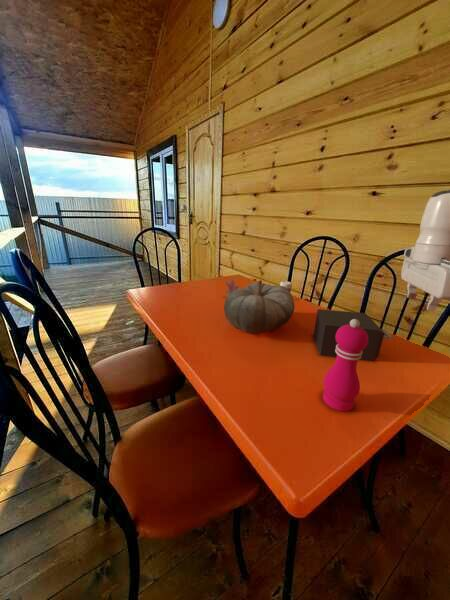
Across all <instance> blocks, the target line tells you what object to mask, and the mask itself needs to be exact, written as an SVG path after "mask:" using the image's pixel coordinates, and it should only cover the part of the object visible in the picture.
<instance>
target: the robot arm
mask: <svg viewBox="0 0 450 600" xmlns="http://www.w3.org/2000/svg"><path fill="white" fill-rule="evenodd" d="M403 256H404V257H405V258H404V259H403V262H402V266H401V272H400V278H401V280H402V281H404V282H406V283H407V284H406V287H407V296H406V298H407V299H409V300H416V299H417V297H418V293H417V288H418V289H419V290H421V291H424V293H427V294H429V295H430V296H429V301H428V302H426V303H425V305H424V310H426V311H428V312H435V311H436V310H437V306H438V305H439V304H440V303H442V301H443V300H450V189H446V190H440V191H437V192H435V193H434V194H432V195H431V196H430V197H429V199H428V201H427V203H426V204H425V208H424V210H423V212H422V216H421V221H420V225H419V235H418V237H417V239H416V241H415V244H414V246H412V247H409V248H406V249H405V250H404V253H403Z"/></svg>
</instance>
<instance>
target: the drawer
mask: <svg viewBox="0 0 450 600" xmlns="http://www.w3.org/2000/svg"><path fill="white" fill-rule="evenodd" d="M368 317H369V318H370V319H371V320H372V321H373V322H374V323H375V324H376V325H377V323H376V322H375V321H374V320H373V319H372V318H371V317H370V316H368ZM381 330H382V331H381V334H380V338H379V342H378V346H377V350H376V354H375V357H374V358H377V359H378V358H379V355H380V352H381V348H382V344H383V340H384V339H386V340H387V341H393V339H394V337H393V336H392V335H391V334H390V332H388V331H387V329H386V328H382V329H381Z"/></svg>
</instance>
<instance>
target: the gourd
mask: <svg viewBox="0 0 450 600" xmlns="http://www.w3.org/2000/svg"><path fill="white" fill-rule="evenodd" d="M295 306H296V305H295V300H294V297H293V295H292V293H290V292H289V290H288V289H287V288H286V287H284V286H280V285H275V284H274V285H271V284H268V283H267V284H266V283H264V282H263V281H262V280H258V282H253V283H250V284H248V285H247V286H244V287H243V288H239V289H238V290H234V291H232V292H231V293H230V294H227V295H226V297H225V300H224V305H223V312H224V313H223V314H224V316H225V319H226V320H227V322H229V324H231V326H232V327H234V328H235V329H237V330H241V331H243V332H244V333H247V334H249V335H254V336H258V335H262V334H266V333H269V332H273V331H276V330H279V329H281V328H282V327H283V326H285V325H286V324H287V323H288V322H289V321H290V319H291V318H292V316H293V315H294V312H295Z"/></svg>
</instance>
